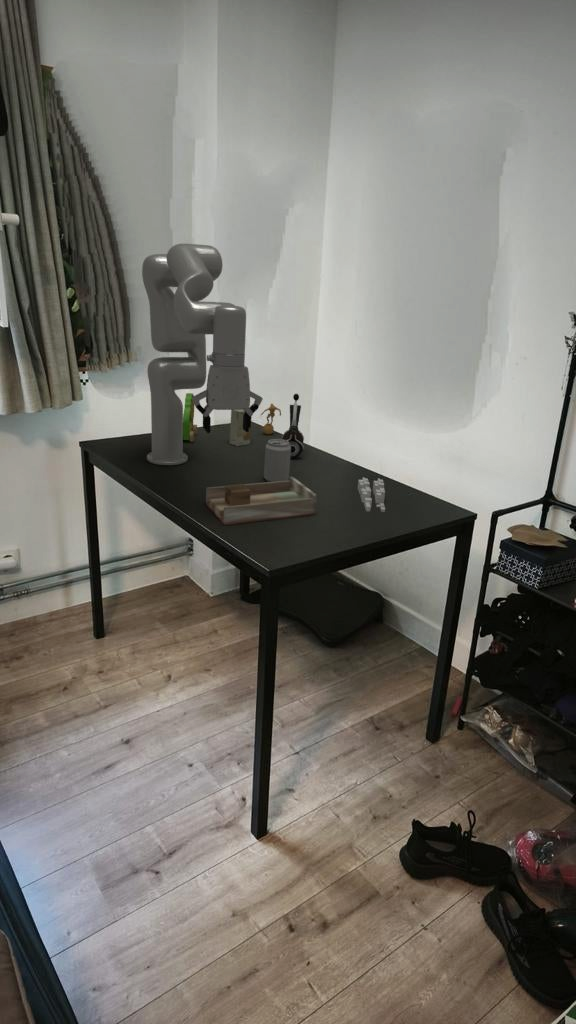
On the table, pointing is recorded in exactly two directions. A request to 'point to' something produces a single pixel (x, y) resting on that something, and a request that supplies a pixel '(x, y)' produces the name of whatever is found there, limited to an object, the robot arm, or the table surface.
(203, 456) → the table surface
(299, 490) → the trap box
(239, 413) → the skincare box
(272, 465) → the can
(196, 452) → the table surface
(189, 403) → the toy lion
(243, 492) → the walnut block
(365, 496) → the modular blocks
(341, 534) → the table surface
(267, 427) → the figurine
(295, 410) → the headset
